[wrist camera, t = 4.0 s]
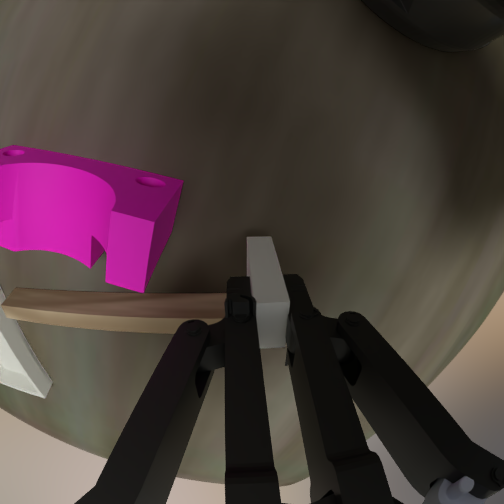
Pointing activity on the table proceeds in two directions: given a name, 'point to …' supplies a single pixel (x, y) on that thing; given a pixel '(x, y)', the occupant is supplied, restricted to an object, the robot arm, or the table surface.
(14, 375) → the tray
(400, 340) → the table surface
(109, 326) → the brown wooden bar
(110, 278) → the toy block
